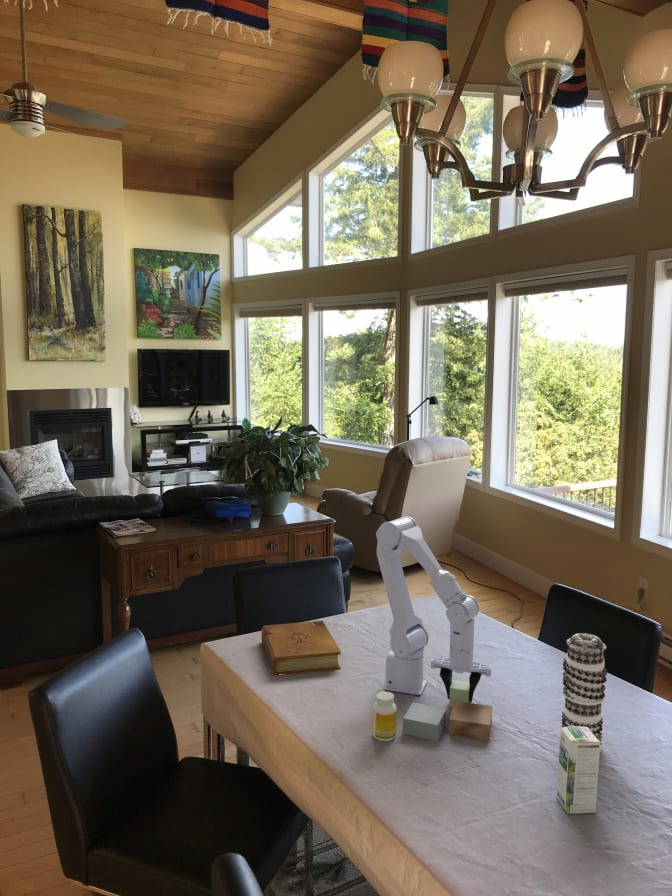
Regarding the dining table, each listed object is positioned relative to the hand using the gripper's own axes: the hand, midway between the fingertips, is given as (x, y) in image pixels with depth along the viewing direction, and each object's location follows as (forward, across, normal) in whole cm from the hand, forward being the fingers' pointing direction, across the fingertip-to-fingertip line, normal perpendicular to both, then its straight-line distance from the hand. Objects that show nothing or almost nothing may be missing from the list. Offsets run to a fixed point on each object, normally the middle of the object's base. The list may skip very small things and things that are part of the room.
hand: (460, 699), depth 173 cm
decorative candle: (+2, +28, -10) cm, 30 cm away
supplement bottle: (+2, -14, -20) cm, 24 cm away
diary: (+2, -48, +14) cm, 50 cm away
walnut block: (+2, +4, -10) cm, 11 cm away
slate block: (+2, -6, -14) cm, 15 cm away
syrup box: (+2, +27, -32) cm, 42 cm away
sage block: (+1, 0, 0) cm, 1 cm away
